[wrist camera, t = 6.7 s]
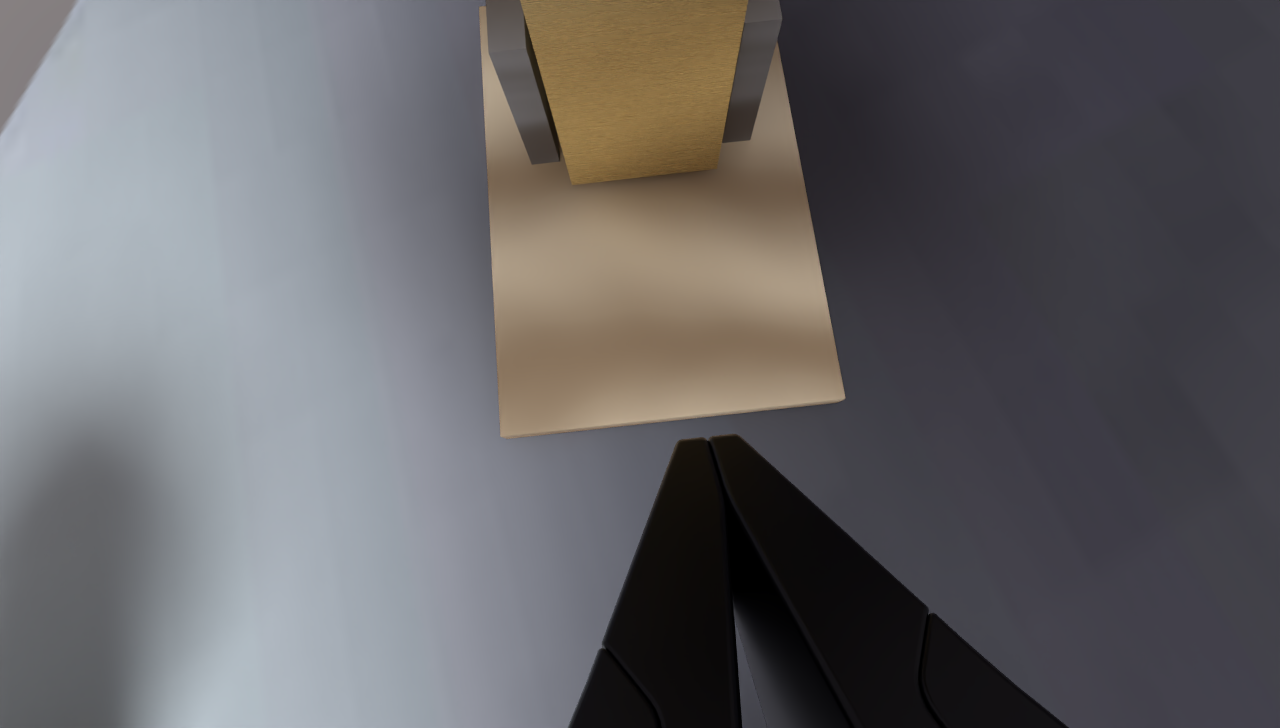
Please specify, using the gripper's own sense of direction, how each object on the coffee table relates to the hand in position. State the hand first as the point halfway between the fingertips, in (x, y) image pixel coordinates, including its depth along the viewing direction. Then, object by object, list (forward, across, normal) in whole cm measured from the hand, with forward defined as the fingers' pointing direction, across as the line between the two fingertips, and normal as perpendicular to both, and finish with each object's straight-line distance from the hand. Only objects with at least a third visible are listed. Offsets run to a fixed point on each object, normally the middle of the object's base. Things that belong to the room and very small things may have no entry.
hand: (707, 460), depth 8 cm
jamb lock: (+14, 0, 0) cm, 14 cm away
